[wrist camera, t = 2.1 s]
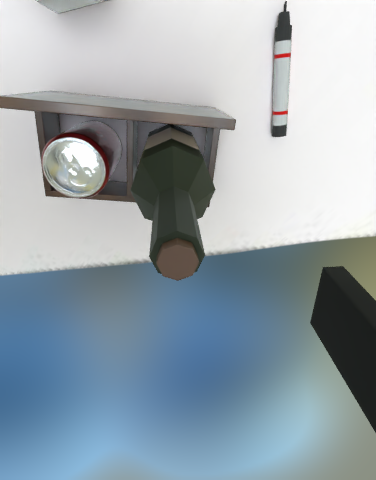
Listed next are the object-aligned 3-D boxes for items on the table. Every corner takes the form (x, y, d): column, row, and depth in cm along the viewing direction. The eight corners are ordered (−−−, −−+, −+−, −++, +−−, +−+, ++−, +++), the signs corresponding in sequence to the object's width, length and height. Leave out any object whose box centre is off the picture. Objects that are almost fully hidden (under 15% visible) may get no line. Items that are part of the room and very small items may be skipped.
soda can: (131, 160, 44) (120, 185, 34) (87, 179, 45) (63, 209, 34) (106, 111, 41) (86, 121, 30) (60, 132, 42) (24, 150, 31)
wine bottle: (171, 191, 47) (178, 336, 20) (130, 153, 44) (75, 266, 17) (210, 153, 44) (276, 260, 18) (169, 109, 41) (176, 162, 15)
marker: (283, 133, 44) (288, 135, 42) (270, 135, 44) (274, 137, 42) (289, 2, 36) (296, -2, 35) (273, 4, 36) (279, 0, 35)
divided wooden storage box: (59, 182, 45) (19, 221, 33) (49, 90, 39) (-3, 95, 27) (204, 193, 47) (217, 233, 35) (215, 107, 42) (236, 119, 29)
